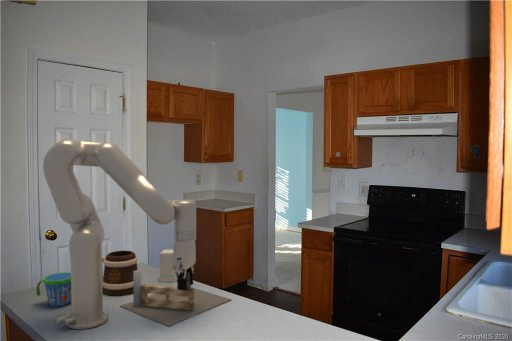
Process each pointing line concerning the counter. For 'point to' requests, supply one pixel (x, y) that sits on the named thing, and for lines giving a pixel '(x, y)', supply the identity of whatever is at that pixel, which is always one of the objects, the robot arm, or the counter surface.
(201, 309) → the taupe mat
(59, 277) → the snack cup
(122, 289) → the mug
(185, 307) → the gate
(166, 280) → the supplement box
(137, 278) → the gate frame
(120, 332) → the counter surface
